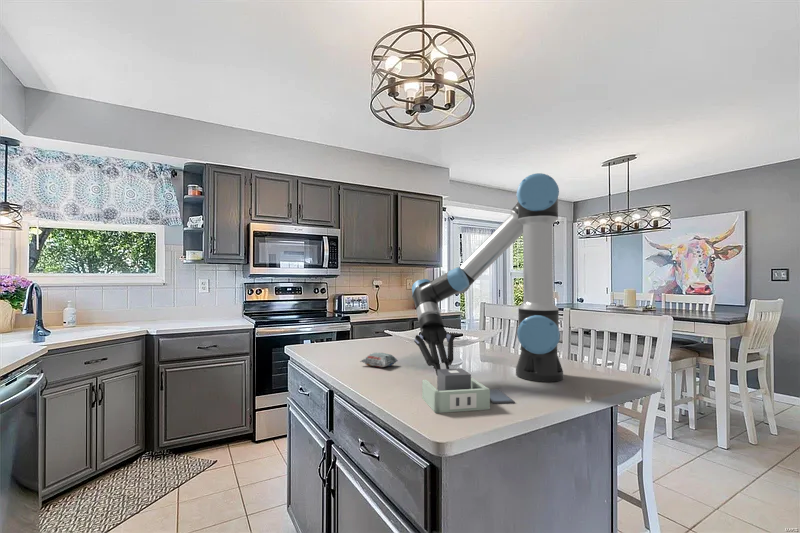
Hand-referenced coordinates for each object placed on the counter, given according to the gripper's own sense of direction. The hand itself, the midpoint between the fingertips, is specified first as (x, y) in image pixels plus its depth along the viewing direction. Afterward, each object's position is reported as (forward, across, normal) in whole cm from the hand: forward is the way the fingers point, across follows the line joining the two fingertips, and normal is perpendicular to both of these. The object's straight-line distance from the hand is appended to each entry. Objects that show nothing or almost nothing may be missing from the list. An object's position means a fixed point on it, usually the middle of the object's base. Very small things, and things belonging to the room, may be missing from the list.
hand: (446, 385), depth 109 cm
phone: (+5, -14, -1) cm, 14 cm away
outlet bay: (+6, 0, +2) cm, 6 cm away
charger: (+6, 0, +1) cm, 6 cm away
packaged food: (-26, +13, -31) cm, 43 cm away
